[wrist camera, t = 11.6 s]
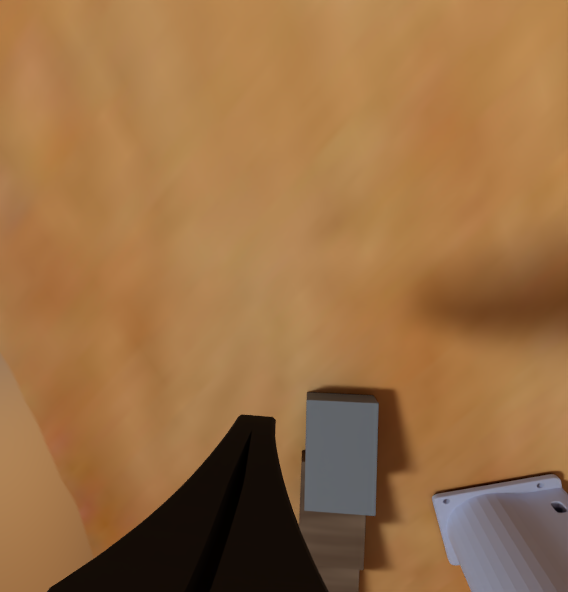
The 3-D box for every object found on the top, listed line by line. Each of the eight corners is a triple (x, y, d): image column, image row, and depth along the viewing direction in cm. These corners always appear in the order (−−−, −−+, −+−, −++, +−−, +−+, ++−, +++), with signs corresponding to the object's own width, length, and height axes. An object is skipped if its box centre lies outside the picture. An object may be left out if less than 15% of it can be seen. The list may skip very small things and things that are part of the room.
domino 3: (299, 517, 24) (297, 610, 25) (360, 522, 24) (357, 616, 24) (299, 503, 26) (297, 590, 26) (357, 508, 26) (354, 596, 26)
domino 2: (301, 461, 23) (298, 563, 23) (367, 466, 22) (363, 570, 23) (302, 450, 24) (298, 545, 24) (363, 455, 24) (359, 551, 24)
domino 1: (306, 400, 21) (304, 510, 21) (378, 403, 21) (375, 516, 21) (306, 392, 23) (304, 495, 23) (373, 395, 22) (370, 500, 22)
